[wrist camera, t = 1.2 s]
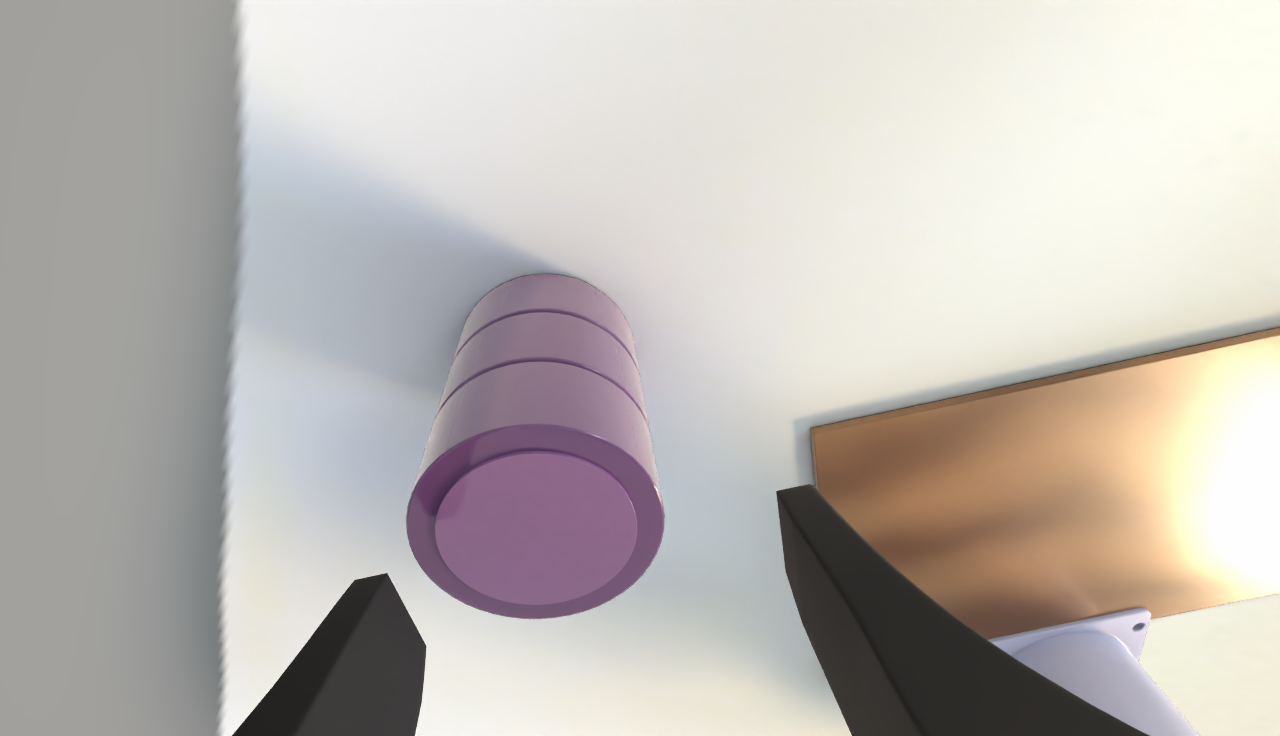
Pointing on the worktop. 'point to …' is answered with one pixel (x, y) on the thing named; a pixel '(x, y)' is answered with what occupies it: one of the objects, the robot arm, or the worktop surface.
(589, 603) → the dish top
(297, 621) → the worktop surface
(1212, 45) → the worktop surface
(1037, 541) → the mat
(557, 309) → the dish bottom
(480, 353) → the dish middle
